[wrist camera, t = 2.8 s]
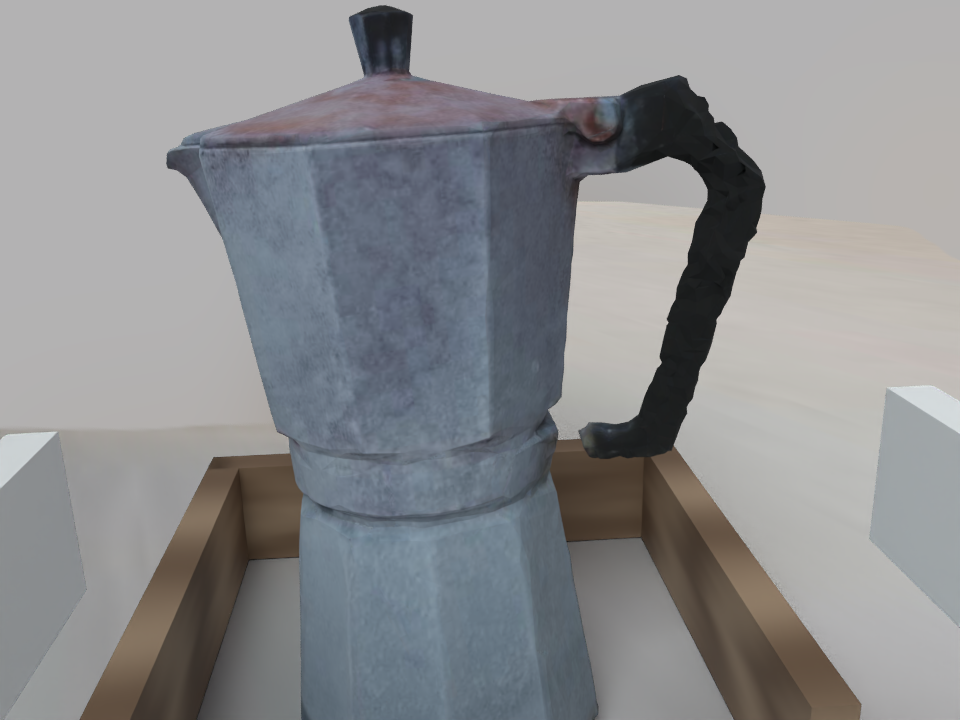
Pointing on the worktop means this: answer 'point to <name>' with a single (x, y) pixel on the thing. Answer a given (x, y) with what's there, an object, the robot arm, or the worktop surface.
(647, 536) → the frame
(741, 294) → the worktop surface
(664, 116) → the moka pot
